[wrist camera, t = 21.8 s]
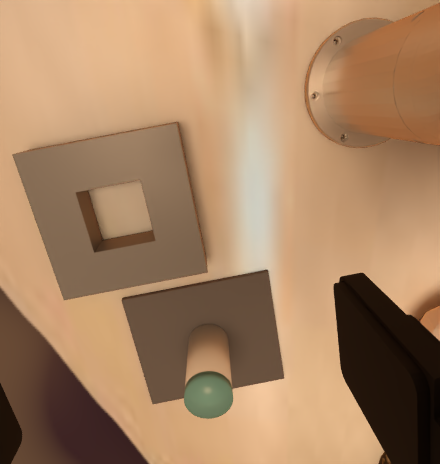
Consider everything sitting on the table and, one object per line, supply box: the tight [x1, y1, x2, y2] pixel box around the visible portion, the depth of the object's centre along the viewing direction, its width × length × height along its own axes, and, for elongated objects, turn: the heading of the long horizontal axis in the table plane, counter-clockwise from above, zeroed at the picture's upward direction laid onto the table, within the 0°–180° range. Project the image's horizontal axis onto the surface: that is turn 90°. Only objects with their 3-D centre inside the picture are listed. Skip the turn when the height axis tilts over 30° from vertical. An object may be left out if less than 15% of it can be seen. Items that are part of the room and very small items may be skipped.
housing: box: [12, 122, 208, 300], centre depth 41 cm, size 16×16×4 cm
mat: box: [122, 270, 284, 404], centre depth 48 cm, size 18×16×1 cm
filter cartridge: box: [184, 324, 233, 419], centre depth 43 cm, size 5×5×10 cm
